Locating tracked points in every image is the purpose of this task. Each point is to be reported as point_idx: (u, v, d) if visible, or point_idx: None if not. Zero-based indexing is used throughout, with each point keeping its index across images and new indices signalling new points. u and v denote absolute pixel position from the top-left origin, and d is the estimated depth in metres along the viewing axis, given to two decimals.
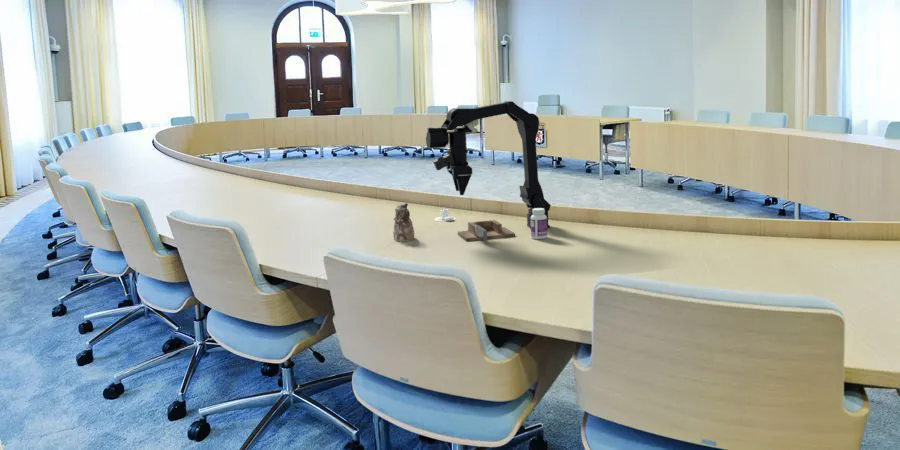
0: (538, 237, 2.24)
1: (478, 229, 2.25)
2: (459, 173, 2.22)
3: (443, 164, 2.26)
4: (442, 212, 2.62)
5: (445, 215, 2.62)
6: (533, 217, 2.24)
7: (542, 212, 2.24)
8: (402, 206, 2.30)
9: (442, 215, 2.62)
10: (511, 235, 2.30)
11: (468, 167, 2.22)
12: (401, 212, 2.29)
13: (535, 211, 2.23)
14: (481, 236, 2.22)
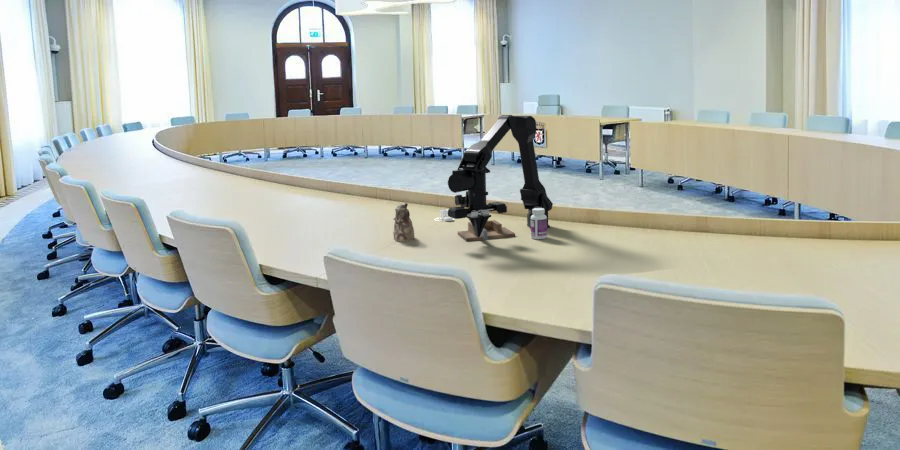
0: (538, 237, 2.24)
1: None
2: (449, 215, 2.16)
3: (457, 203, 2.22)
4: (442, 212, 2.61)
5: (445, 215, 2.62)
6: (533, 217, 2.24)
7: (542, 212, 2.24)
8: (402, 206, 2.30)
9: (442, 215, 2.62)
10: (511, 235, 2.30)
11: (454, 211, 2.14)
12: (401, 212, 2.29)
13: (535, 211, 2.23)
14: (481, 236, 2.22)
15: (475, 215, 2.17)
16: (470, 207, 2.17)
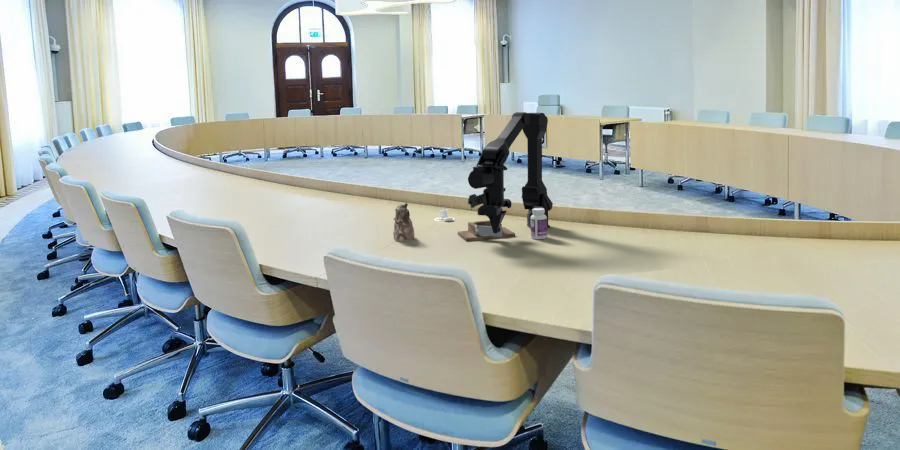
0: (538, 237, 2.24)
1: (485, 228, 2.26)
2: (482, 213, 2.14)
3: (474, 202, 2.20)
4: (441, 212, 2.61)
5: (444, 215, 2.61)
6: (533, 217, 2.24)
7: (542, 212, 2.24)
8: (402, 206, 2.30)
9: (441, 215, 2.62)
10: (511, 235, 2.30)
11: (492, 208, 2.13)
12: (401, 212, 2.29)
13: (535, 211, 2.23)
14: (495, 233, 2.25)
15: (499, 211, 2.20)
16: (494, 204, 2.19)
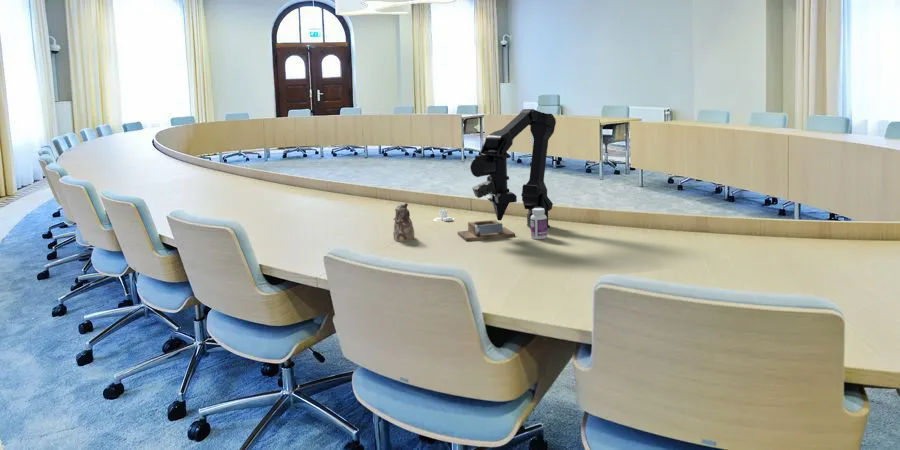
0: (538, 237, 2.24)
1: (487, 226, 2.28)
2: (504, 201, 2.17)
3: (485, 192, 2.20)
4: (441, 212, 2.61)
5: (444, 215, 2.61)
6: (533, 217, 2.24)
7: (542, 212, 2.24)
8: (402, 206, 2.30)
9: (441, 215, 2.62)
10: (511, 235, 2.30)
11: (513, 195, 2.17)
12: (401, 212, 2.29)
13: (535, 211, 2.23)
14: (496, 230, 2.29)
15: None
16: (502, 191, 2.23)
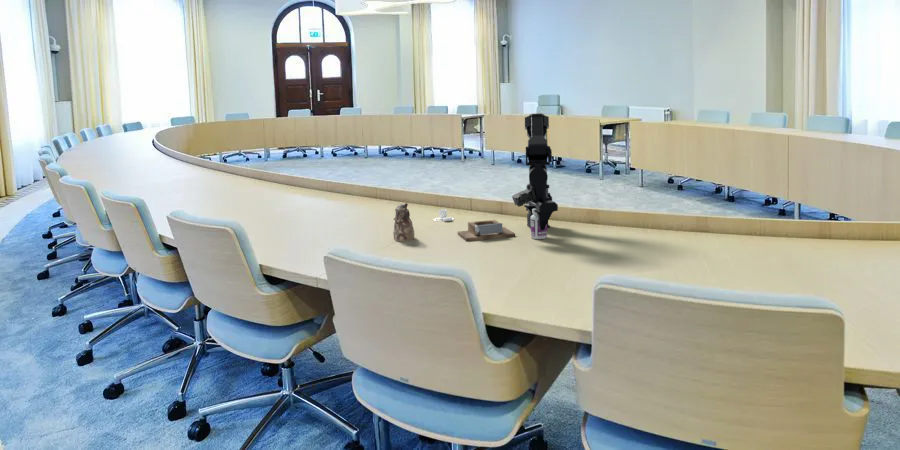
0: (538, 237, 2.24)
1: (487, 226, 2.28)
2: (545, 210, 2.15)
3: (526, 200, 2.19)
4: (440, 212, 2.61)
5: (443, 215, 2.61)
6: (533, 217, 2.24)
7: None
8: (402, 206, 2.30)
9: (440, 215, 2.61)
10: (511, 235, 2.30)
11: (554, 203, 2.16)
12: (401, 212, 2.29)
13: None
14: (496, 230, 2.29)
15: None
16: (543, 200, 2.22)
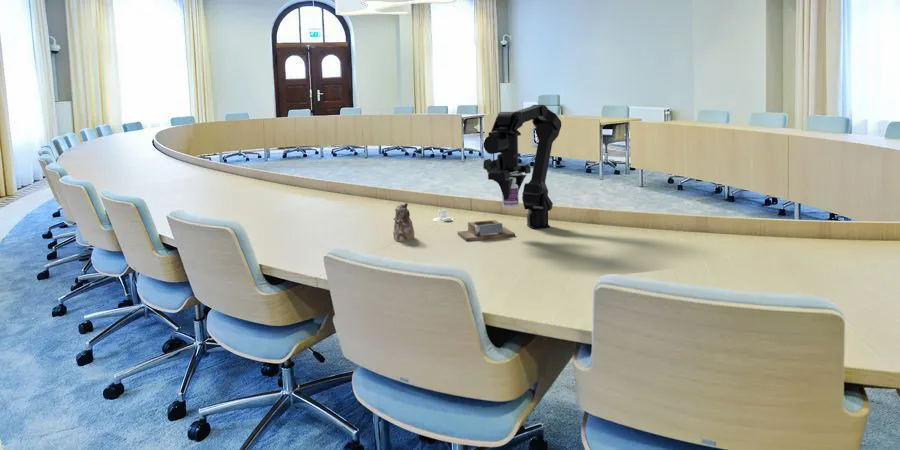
0: (504, 205, 2.27)
1: (487, 226, 2.28)
2: (492, 178, 2.19)
3: (488, 167, 2.25)
4: (440, 212, 2.61)
5: (443, 215, 2.61)
6: None
7: None
8: (402, 206, 2.30)
9: (440, 215, 2.61)
10: (511, 235, 2.30)
11: (500, 172, 2.17)
12: (401, 212, 2.29)
13: None
14: (496, 230, 2.29)
15: None
16: (506, 169, 2.23)
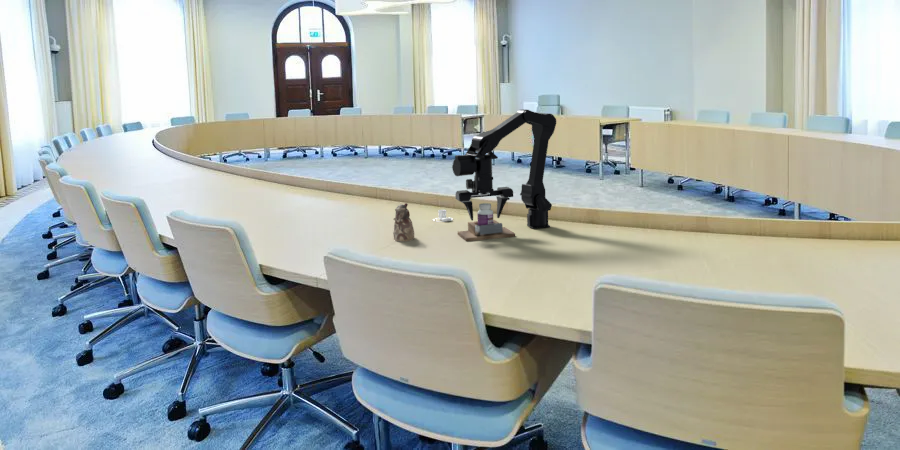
0: None
1: (487, 226, 2.28)
2: (456, 197, 2.30)
3: (467, 187, 2.35)
4: (440, 213, 2.61)
5: (443, 216, 2.61)
6: None
7: (480, 207, 2.31)
8: (402, 206, 2.30)
9: (440, 216, 2.61)
10: (511, 235, 2.30)
11: (459, 194, 2.27)
12: (401, 212, 2.29)
13: None
14: (496, 230, 2.29)
15: None
16: (476, 191, 2.30)
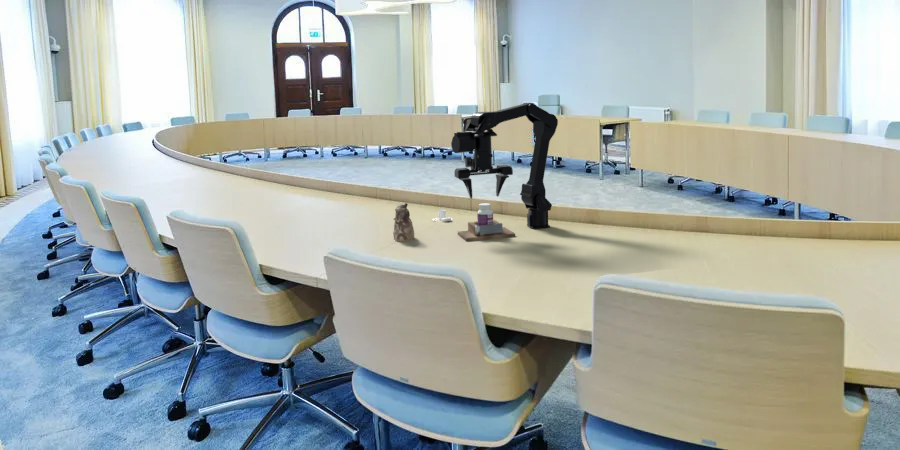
0: None
1: (487, 226, 2.28)
2: (455, 175, 2.29)
3: (466, 165, 2.33)
4: (439, 213, 2.61)
5: (442, 216, 2.61)
6: None
7: (480, 207, 2.31)
8: (402, 206, 2.30)
9: (439, 216, 2.61)
10: (511, 235, 2.30)
11: (458, 171, 2.25)
12: (401, 212, 2.29)
13: None
14: (496, 230, 2.29)
15: None
16: (475, 168, 2.28)
